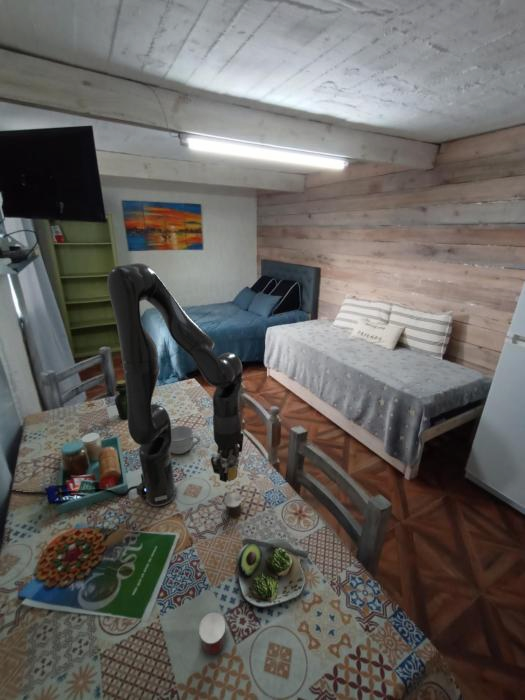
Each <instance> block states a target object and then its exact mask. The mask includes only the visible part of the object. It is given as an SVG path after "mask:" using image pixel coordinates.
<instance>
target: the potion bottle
mask: <svg viewBox="0 0 525 700" xmlns="http://www.w3.org/2000/svg"><path fill="white" fill-rule="evenodd" d="M115 391H116V392H118V394H117V395H116V396H115V398H114V404H115V407H116V410H117V413H118V416H119V418H120V419H121V420H128V402H127V392H126V383H125V379H120V380H117V381H116V386H115Z"/></svg>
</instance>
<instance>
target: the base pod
mask: <svg viewBox="0 0 525 700" xmlns="http://www.w3.org/2000/svg"><path fill="white" fill-rule="evenodd" d="M223 502H224V505H225V510H226V512H225V513H226V515H227V516H228V517H230V518H237V517H238V516H240V515H241V513H242V503H243V497H242V495H241V494H240V493H239V492H229V493H227V494H226V495H225V496H224V499H223Z"/></svg>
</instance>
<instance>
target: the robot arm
mask: <svg viewBox="0 0 525 700" xmlns="http://www.w3.org/2000/svg"><path fill="white" fill-rule="evenodd" d="M107 290H108V295H109V299H110V303H111V307H112V311H113V314H114V320H115V323H116V328H117V334H118V339H119V346H120V355H121V356H120V357H121V362H122V370H123V374H124V380H125V384H126V392H127V402H128V419H127V428H128V432H129V435H130V437H131V439H132V440H133V442H135V443H136V444H137V445H140V446H139V449H138V455H139V461H140V467H141V472H142V473H140V479H141V483H139V484H138V485H133V486H131V487H128V488H127V490H126V491H118V490H116V491H115V492H112V493H113V494H116V495H119V496H122V495H127V494H129V493H130V492H131V490H136V495H137V496H140V497H142V498H143V497H144V498H145V499H146V502H147V504H148V505H150V506H151V507H156V508H157V507H164V506H165V505H168V504H169V503H171V502H172V501H173V500H174V499H175V498H176V494H177V490H176V484H175V476H174V467H173V460H172V454H171V453H172V452H170V446H171V442H172V436H171V428H172V424H171V417H170V415H169V413H168V411H167V410H166V408H164V406H162V405H160V404H156V403H152V401H153V395H154V392H155V389H156V386H157V383H158V378H159V375H160V374H159V373H160V363H159V352H158V348H157V345H156V343H155V341H154V340H153V338H152V337H151V336H150V334H149V332H148V331H147V330H146V328H145V327H144V325H143V321H142V316H141V307H140V305H141V303H140V302H142V301H146V302H147V303H149V304H151V305H152V306H153V307H154V308H155V309H156V310H158V313H160V315H161V317H162V318H163V321H164V324H165V325H166V328H167V330H168V333H169V335H170V336H171V338H172V339H173V341H174V342H175V343H176V344H177V345H178V346H179V347H180V348H181V349H182V350H183V351H184V352H185V353H186V354H187V355H188V356H189V357H190V358H191V359H192V360H193V362H194V364H195V366H196V367H197V369H198V370H199V372H200V374H201V375H202V377H203V378H204V379H205V381H206V382H207V383H208V384H209V385H211V386H212V387H214V388H215V390H214V392H213V394H212V429H213V431H212V432H213V440H214V443H215V444H216V446H217V451H216V453H217V454H215V456H211V458H210V464H211V468H212V471H213V473H214V474H217V475H219V481H221V482H223V483H227V482H229V481H228V474H227V468H228V464H230V460H231V455H234V456H236V457H237V458H238V459H239V457H240V453H242V452H243V445H244V433H243V432H242V418H241V417H242V416H241V411H240V410H241V409H240V392H241V388H242V387H241V386H242V380H243V379H242V378H243V364H242V361H241V359H240V357H238V355H237V354H235V353H233V352H225V353H222V354H221V355H219V356H218V355H217V354H216V353H215V352H214V350H213V349H214V347H215V341H214V339H213V338H212V337H211V336H210V335H209V334H208V333H207V331H205V330H204V329H203V328H202V327H201V326H200V325H199V324H198V323H196V321H195V320H194V319H193V318H192V317H191V316H190V315H189V314H188V312H186V311H185V309H184V308H183V307H182V306H181V305H180V303H179V302H178V300H177V299H176V297H174V295H173V294H172V292H171V291H170V290H169V288H168V287H167V286H166V284H165V283H164V282H163V281H162V279H161V278H160V277H159V275H158V274H157V273H156V272H155V271H154V270H153V268H151V267H150V266H149V265H147V264H144V263H140V262H138V263H129V264H123V265H118V266H115V267H113V268H112V269H110V271H109V273H108V275H107ZM222 458H224V459H227V461H226V460H223V459H222ZM222 464H224V467H222ZM238 468H239V464H238V465H237V469H238ZM12 489H14V490H12ZM12 489H10V492H11V493H18V494H27V495H46V494H45V492H43V490H42V491H40V490H39V491H35V490H34V492H23V491H24V490H22V489H21V490H22V491H16V490H17V489H15V488H12Z"/></svg>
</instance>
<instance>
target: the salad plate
mask: <svg viewBox="0 0 525 700" xmlns="http://www.w3.org/2000/svg"><path fill="white" fill-rule="evenodd" d="M241 543H242V548H241V549H240V550H239V552H238V554H237V556H236V562H235V563H236V572H237V579H238V583H239V591H240V594H241V598H242V599H243V600H244V601H245V602H246V603H247V604H248V605H250V606H252V607H254V608H257V609H271V608H272V607H274V606H276V605H280V604H283V603H286V602H288V601H291V600H293V599H295V598H298V597H299V596H300V594H302V592H303V591H304V588H305V586H306V582H307V581H306V576H305V573H304V570H303V568H302V565H301V560H302V559H303V560H304V559H307V558H308V557H309V552H308V551H306V550H300V549H295V548H294V546H293V545H292V544H291V543H290V542H289V541H288V540H286V539H284V538H282V537H272V538H269V539H264V540H256V539H252V538H244V539H243V540H241Z"/></svg>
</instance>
